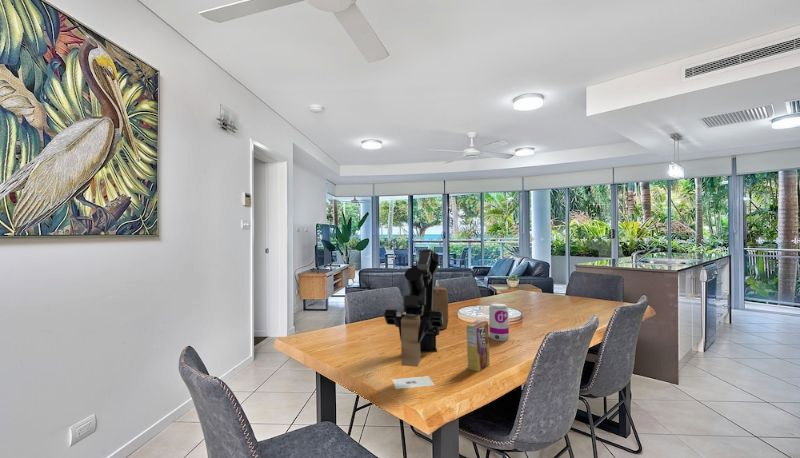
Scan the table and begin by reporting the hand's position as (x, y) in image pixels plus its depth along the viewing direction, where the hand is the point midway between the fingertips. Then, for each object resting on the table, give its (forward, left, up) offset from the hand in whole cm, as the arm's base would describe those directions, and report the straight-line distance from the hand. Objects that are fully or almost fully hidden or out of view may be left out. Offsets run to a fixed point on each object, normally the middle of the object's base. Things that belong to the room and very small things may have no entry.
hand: (410, 342), depth 106 cm
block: (-30, -63, -13) cm, 71 cm away
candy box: (-27, -9, -13) cm, 31 cm away
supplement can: (-50, -38, -13) cm, 64 cm away
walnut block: (-1, -1, -7) cm, 7 cm away
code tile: (-1, -1, -13) cm, 13 cm away
